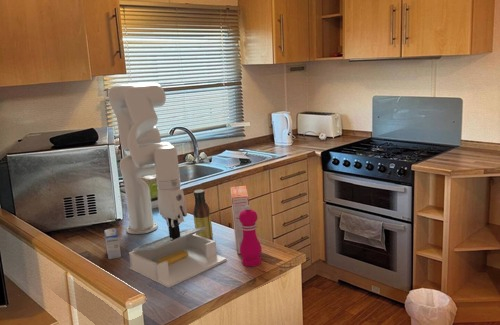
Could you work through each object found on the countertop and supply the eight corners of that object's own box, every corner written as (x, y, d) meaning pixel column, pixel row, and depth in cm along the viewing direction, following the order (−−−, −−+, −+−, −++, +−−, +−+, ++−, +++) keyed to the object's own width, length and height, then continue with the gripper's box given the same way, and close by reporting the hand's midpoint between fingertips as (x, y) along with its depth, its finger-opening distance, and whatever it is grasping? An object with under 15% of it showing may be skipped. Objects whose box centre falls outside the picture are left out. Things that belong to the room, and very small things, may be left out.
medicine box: (106, 251, 176) (103, 229, 174) (119, 249, 177) (116, 227, 175) (108, 259, 169) (105, 236, 167) (121, 257, 170) (118, 234, 168)
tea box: (136, 203, 234) (132, 174, 231) (154, 198, 241) (150, 170, 237) (152, 209, 223) (148, 178, 220) (170, 203, 230) (167, 174, 226)
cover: (133, 251, 158) (132, 248, 158) (184, 231, 173) (184, 229, 173) (153, 249, 148) (153, 247, 148) (206, 228, 163) (206, 226, 163)
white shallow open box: (130, 268, 160) (127, 252, 158) (186, 245, 176) (185, 230, 175) (168, 287, 144) (166, 269, 143) (226, 260, 161) (225, 243, 159)
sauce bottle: (204, 236, 184) (200, 187, 180) (216, 239, 180) (212, 189, 176) (192, 242, 179) (187, 191, 175) (204, 245, 175) (199, 193, 171)
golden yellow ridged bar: (156, 264, 160) (155, 259, 159) (182, 253, 167) (182, 248, 167) (163, 267, 157) (162, 262, 156) (189, 256, 164) (189, 251, 164)
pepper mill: (236, 263, 158) (231, 206, 154) (251, 256, 163) (247, 200, 158) (251, 269, 153) (247, 210, 148) (267, 261, 158) (263, 204, 153)
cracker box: (234, 239, 178) (230, 186, 174) (250, 238, 179) (246, 184, 174) (236, 255, 165) (231, 197, 160) (253, 253, 165) (249, 195, 160)
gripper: (192, 184, 152) (197, 238, 155) (165, 178, 162) (170, 229, 166) (173, 189, 147) (179, 245, 150) (146, 183, 157) (152, 235, 161)
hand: (175, 236), depth 158 cm, fingers closed
